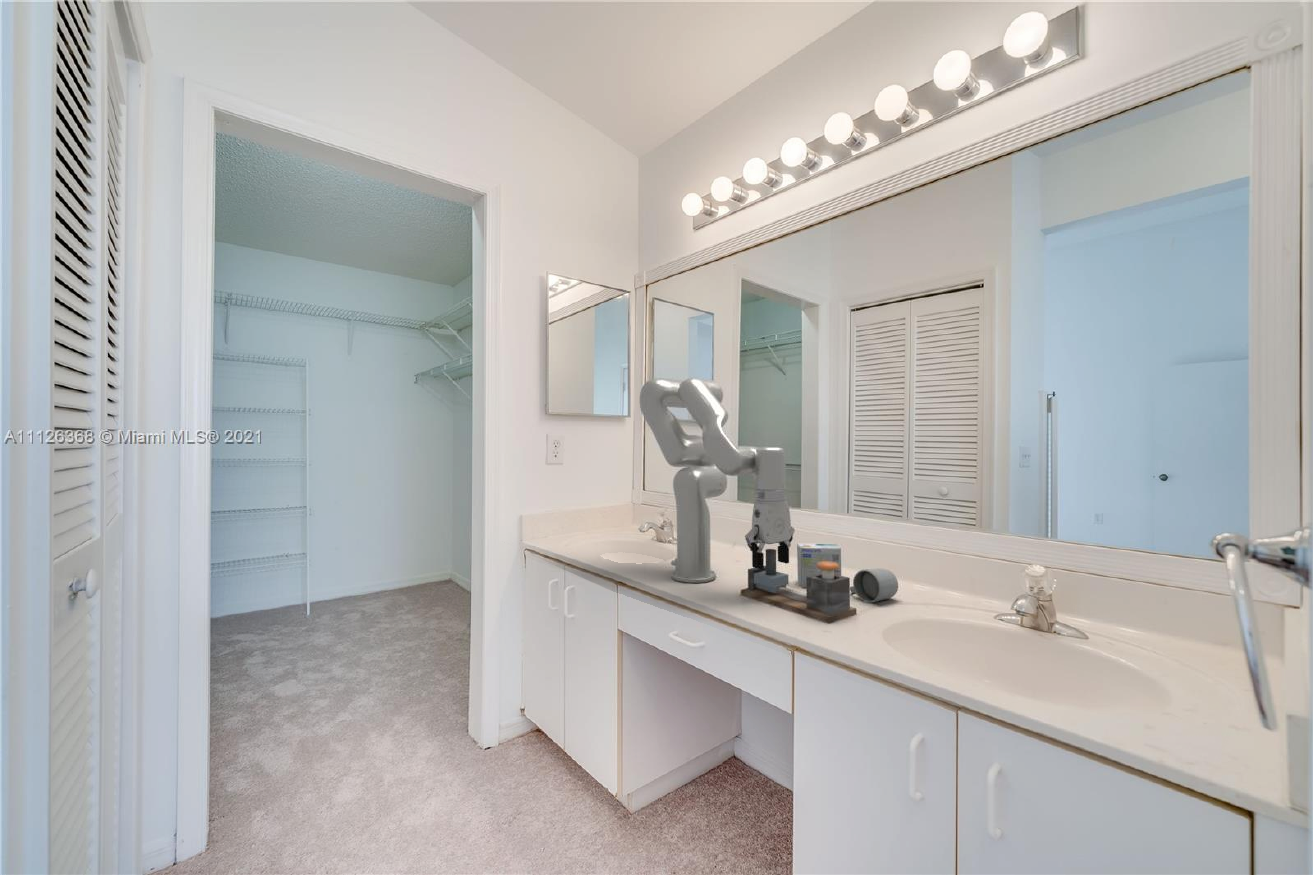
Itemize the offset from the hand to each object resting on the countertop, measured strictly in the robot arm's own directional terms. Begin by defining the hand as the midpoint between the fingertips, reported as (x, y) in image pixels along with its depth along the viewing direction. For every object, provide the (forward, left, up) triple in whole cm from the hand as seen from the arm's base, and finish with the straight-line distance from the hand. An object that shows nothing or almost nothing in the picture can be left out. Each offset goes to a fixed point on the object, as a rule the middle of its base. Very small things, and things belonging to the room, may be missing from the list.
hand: (770, 565), depth 127 cm
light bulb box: (+1, +18, -8) cm, 20 cm away
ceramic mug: (+16, +18, -8) cm, 26 cm away
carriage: (0, 0, -6) cm, 6 cm away
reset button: (+16, 0, -2) cm, 17 cm away
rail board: (+7, 0, -8) cm, 11 cm away
